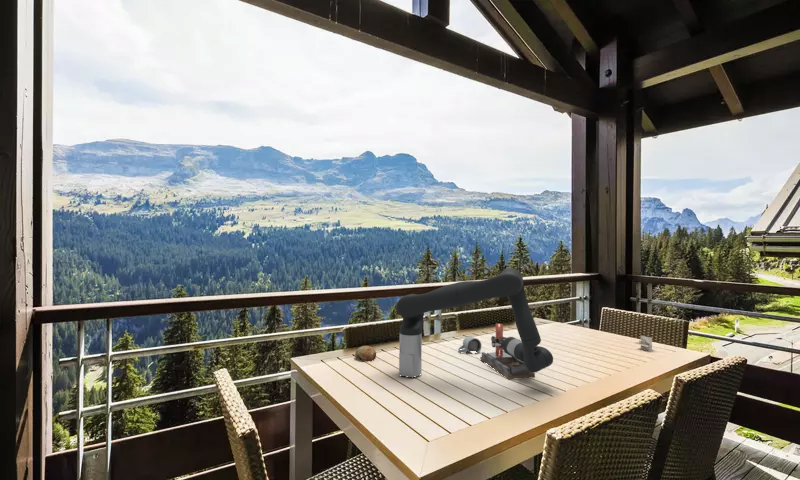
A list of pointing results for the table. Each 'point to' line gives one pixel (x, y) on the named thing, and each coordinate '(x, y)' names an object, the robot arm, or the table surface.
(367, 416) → the table surface
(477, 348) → the ceramic mug
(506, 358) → the slider
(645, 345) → the architectural model
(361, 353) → the bread roll
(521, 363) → the press base
